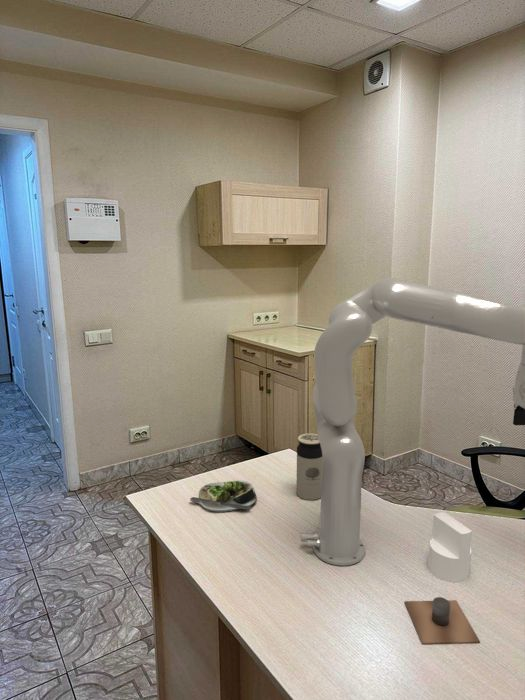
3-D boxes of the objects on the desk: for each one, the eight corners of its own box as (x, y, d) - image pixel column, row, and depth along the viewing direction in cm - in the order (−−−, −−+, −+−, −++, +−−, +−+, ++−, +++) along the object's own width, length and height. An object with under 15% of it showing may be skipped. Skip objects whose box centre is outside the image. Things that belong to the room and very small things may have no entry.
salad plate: (190, 519, 136) (190, 504, 135) (189, 488, 153) (189, 475, 152) (260, 513, 139) (260, 498, 138) (251, 484, 156) (251, 470, 155)
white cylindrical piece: (419, 563, 117) (422, 517, 114) (449, 553, 120) (452, 508, 117) (447, 587, 108) (451, 538, 106) (478, 576, 112) (483, 528, 109)
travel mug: (297, 486, 153) (298, 432, 149) (323, 488, 152) (324, 433, 148) (295, 499, 145) (296, 442, 142) (322, 501, 144) (324, 444, 141)
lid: (421, 647, 93) (423, 624, 92) (404, 605, 104) (405, 584, 103) (479, 646, 93) (482, 623, 92) (455, 604, 104) (457, 583, 103)
